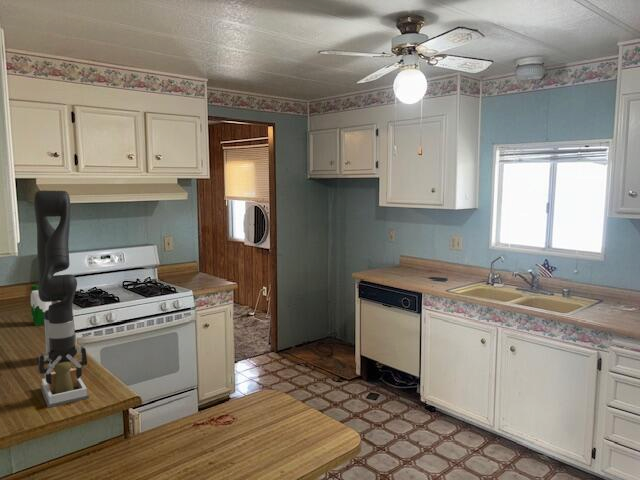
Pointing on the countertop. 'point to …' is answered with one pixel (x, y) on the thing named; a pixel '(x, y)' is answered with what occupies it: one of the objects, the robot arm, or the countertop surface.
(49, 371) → the robot arm
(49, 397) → the white walled tray
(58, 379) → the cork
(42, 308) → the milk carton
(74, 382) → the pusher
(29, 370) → the countertop surface
